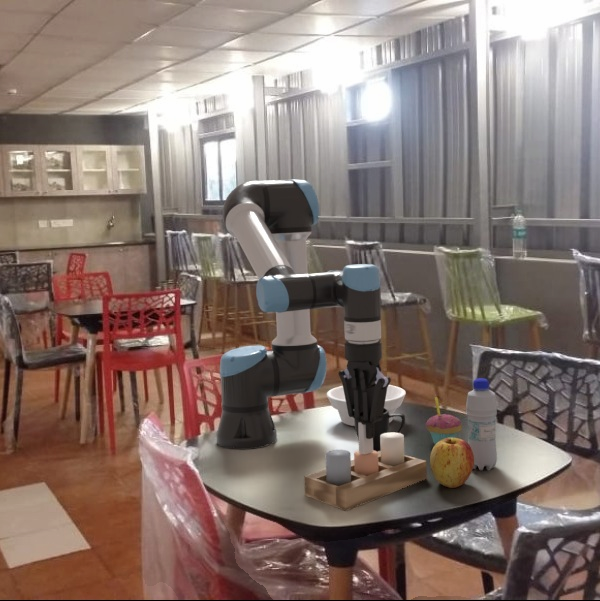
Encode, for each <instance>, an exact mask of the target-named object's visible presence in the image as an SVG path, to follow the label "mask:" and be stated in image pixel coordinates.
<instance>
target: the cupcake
mask: <svg viewBox="0 0 600 601" xmlns="http://www.w3.org/2000/svg"><path fill="white" fill-rule="evenodd" d="M434 401H435V407H436V408H435V409H436V412H437V414H435V415H432V416H430V417H429V418H427V420H426V422H425V427H426V430H427V431H429V433H430V435H431V438H432V441H433V444H434V445H435V444H436V443H438V442H439V441H441V440H443V439H445V438H457V435H458V433H460V432H461V431H462V428H463V425H462V422H461V420H460V419H459V418H458V417H455V415H452V414H448V413H444V414H441V410H440V405H439V404H440V403H439V398H438V397H437V395H436V394H434Z"/></svg>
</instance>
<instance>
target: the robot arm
mask: <svg viewBox="0 0 600 601" xmlns="http://www.w3.org/2000/svg"><path fill="white" fill-rule="evenodd" d="M223 203H224V204H223V207H222V220H223V224H224V226H225V228H226V230H227V232H228V233H229V234H230V235H231V236H232V237H234V238H236V239H237V240H236V241H238V242H237V243H239V245H240V247H241V249H242V251H243V252H244V256H246V258H247V260H248V262H249V263H250V264H249V265H250V266H251V268H252V269H253V271H254V273H255V275H256V277H257V278H258V280H257V282H256V287H255V288H256V289H255V290H256V292H255V294H256V300H257V304H258V307H259V309H260V310H261V311H262V312H264V313H275V318H276V319H275V321H276V323H275V324H276V337H275V338H274V339H273V340H272V341H271V350H268V349H267V348H266V347H265V346H263V345H259V344H256V345H245V346H240V347H236V348H233V349H231V350H228V351H226V352H225V353H224V354H222V355H221V357H220V361H219V363H220V365H219V376H220V390H221V391H220V392H221V395H220V396H221V416H220V418H219V419H220V420H219V424H218V427H217V431H216V444H218V445H219V446H220V447H224V448H226V449H234V450H235V449H237V450H249V449H257V448H262V447H266V446H269V445H271V444H273V443H275V442H276V441H277V439H278V437H277V435H278V434H277V428H276V426H275V422H274V419H273V417H272V414H271V412H270V408H269V398H272V397H280V396H281V397H282V396H288V395H295V394H307V393H310V392H311V393H312V392H314V391H315V392H316V391H318V390H319V389H320V388H321V387H322V386H323V384H324V382H325V379H326V375H327V368H328V367H327V366H328V365H327V364H328V363H327V362H328V361H327V357H326V351H325V349H324V348H323V346H320V345H318V340H317V338H316V337H314V335H312V333H311V331H312V330H311V315H310V314H311V313H310V312H311V311H310V310H316V309H328V308H343V324H344V325H343V327H344V328H343V329H344V332H343V333H344V339H345V340H346V342H345V343H344V358H345V360H346V361H347V363H346V368H345V369H342V370H339V371H338V372H337V373H338V378H340V381H341V383H342V384H341V385H342V386H343V389H344V394H345V400H346V405H347V410H348V415H349V417H353V418H354V419H355V421H356V426H357V434H356V437H357V436H359V441H358V451H359V453H360V454H363V455H365V454H368V453H371V452H373V438H374V436H375V426H374V424H375V422H376V421H379V420H382V417H383V411H384V405H385V399H386V392H387V387H388V385H391V384H390V383H391V381H392V379H391V377H390V376H385V375H384V374H383V373H382V368H381V365H380V361H381V359H382V357H383V351H382V350H383V348H382V347H383V346H382V344H383V343H382V342H381V338H382V319H381V317H382V316H381V312H382V311H381V284H382V282H381V279H380V269H379V267H378V266H377V265H375V264H372V263H370V264H368V263H358V264H357V263H356V264H348V265H345V266H344V267H343V269H333V270H332V269H331V270H328V271H327V272H316V273H309V272H308V255H307V254H308V252H307V249H308V248H307V239H308V237H309V236H310V235H312V231H313V230H312V227H313V226H315V225H317V223H318V222H319V216H320V204H319V199H318V195H317V193H316V190H315V189H314V187H313V185H312V184H311V183H310V182H309V181H308V180H305V179H292V178H291V179H274V180H273V179H272V180H250V181H249V180H248V181H245V182H242V183H241V184H238V185H237V186H236V187H235V188H233V189H232V190H231V191H230V193H229V194H228V195H227V197H226V199H225V201H224V202H223ZM353 409H354V410H353Z"/></svg>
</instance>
